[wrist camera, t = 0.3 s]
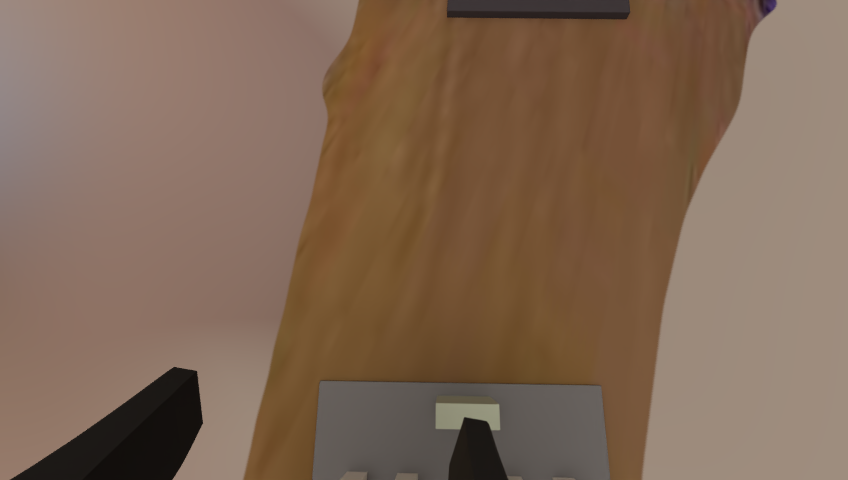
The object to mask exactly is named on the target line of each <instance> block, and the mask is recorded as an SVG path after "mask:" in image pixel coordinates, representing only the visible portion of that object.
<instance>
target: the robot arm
mask: <svg viewBox="0 0 848 480" xmlns="http://www.w3.org/2000/svg"><path fill="white" fill-rule="evenodd" d="M202 424H203V420H202V411H201V402H200V394H199V385H198V376H197V371H194V370H188V369H182V368H177V367H173V368H172V369H170V370H169V371H168V372H166V373H165V374H163V375H162V376H161V377H159V378H158V379H157V380H155V381H154V382H152V383H151V384H150V385H148V386H147V387H146V388H145V389H143V390H142V391H140V392H139V393H138V394H136V395H135V396H133V397H132V398H131V399H129V400H128V401H127V402H125V403H124V404H122V405H121V406H120V407H118V408H117V409H116V410H114V411H113V412H111V413H110V414H108V415H107V416H106V417H104V418H103V419H101V420H100V421H99V422H97V423H96V424H94V425H93V426H91V427H90V428H89V429H87V430H86V431H85V432H83V433H82V434H80V435H79V436H77V437H76V438H74V439H73V440H71V441H70V442H68V443H67V444H65V445H64V446H62V447H60V448H59V449H57V450H56V451H54V452H53V453H51V454H50V455H48V456H47V457H45V458H44V459H42V460H41V461H39V462H38V463H36V464H35V465H33V466H32V467H30V468H29V469H27V470H25V471H24V472H22V473H20V474H19V475H17V476H16V477H14V478H12V479H11V480H172V479H173V478H174V476H175V475H176V473H177V472H178V470H179V468H180V467H181V465H182V463H183V462H184V460H185V458H186V456H187V454H188V452H189V450H190V448H191V446H192V444H193V442H194V440H195V438H196V436H197V434H198V432H199V430H200V428H201V426H202ZM448 480H508V478H507V475H506V472H505V470H504V467H503V464H502V461H501V459H500V456H499V453H498V450H497V447H496V444H495V441H494V438H493V435H492V432H491V428H490V425H489V423H488V422H487V421H484V420H479V419H473V418H467V417H464V419H463V422H462V426H461V429H460V432H459V435H458V438H457V441H456V445H455V448H454V451H453V454H452V457H451V460H450V464H449V475H448Z"/></svg>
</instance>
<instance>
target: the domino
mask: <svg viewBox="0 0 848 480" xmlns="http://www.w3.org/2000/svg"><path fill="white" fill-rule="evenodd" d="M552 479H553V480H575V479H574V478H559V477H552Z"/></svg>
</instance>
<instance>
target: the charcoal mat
mask: <svg viewBox="0 0 848 480" xmlns="http://www.w3.org/2000/svg"><path fill="white" fill-rule="evenodd" d="M437 396H490V397H491V398H492V399H493V400H495V401H496V402H497V403H498V404H499V411H500V430H491V432H492V435H493V438H494V441H495V444H496V447H497V450H498V453H499V456H500V459H501V461H502V464H503V467H504V470H505V472H506V475H507V476H521V477H522V479H523V480H553V479H552V477H559V478H574V479H575V480H610V473H609V463H608V452H607V442H606V432H605V422H604V411H603V401H602V391H601V386H600V385H545V384H486V383H426V382H367V381H320V387H319V400H318V412H317V425H316V438H315V451H314V464H313V477H312V480H340V479H341V478H342V477H343V476H344V475H345V474H346V472H367V480H395V478H396V476H397V473H417V474H418V480H448V475H449V464H450V460H451V457H452V454H453V451H454V448H455V445H456V441H457V438H458V435H459V432H460V429H436V400H437Z"/></svg>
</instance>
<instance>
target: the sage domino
mask: <svg viewBox="0 0 848 480" xmlns="http://www.w3.org/2000/svg"><path fill="white" fill-rule="evenodd" d="M464 417H467V418H473V419H479V420H484V421H487V422H488V423H489V425H490V428H491V430H500V411H499V404H498V403H497V402H496V401H495V400H493V399H492V398H491V397H490V396H437V400H436V429H461V426H462V422H463V419H464Z"/></svg>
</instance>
